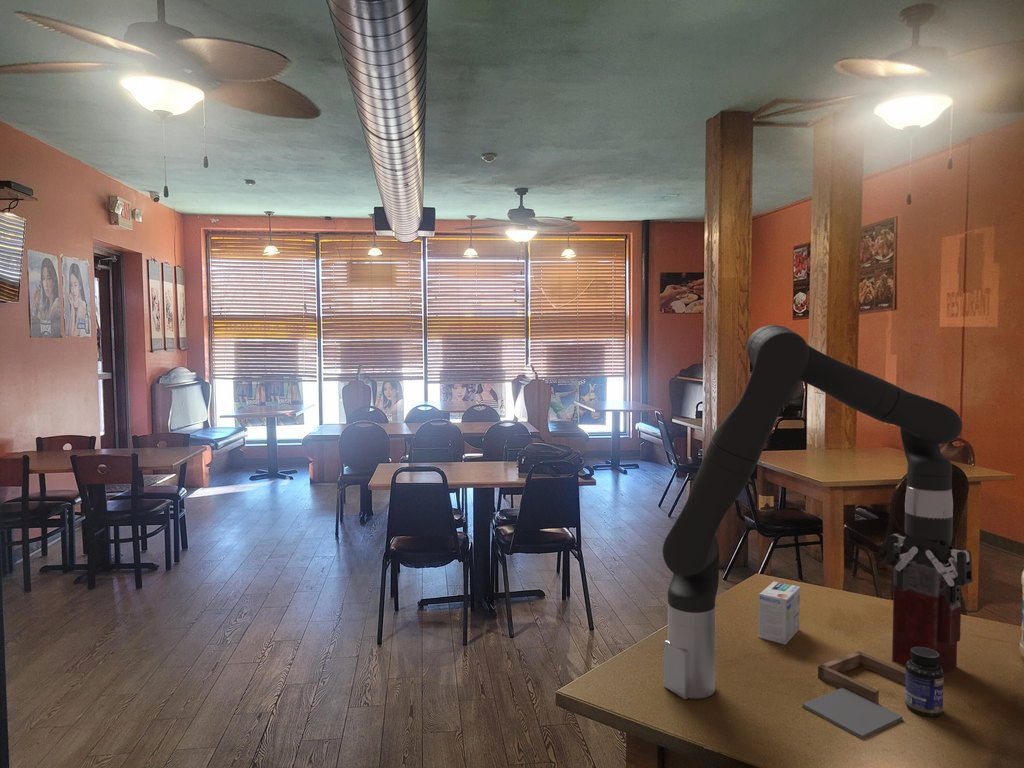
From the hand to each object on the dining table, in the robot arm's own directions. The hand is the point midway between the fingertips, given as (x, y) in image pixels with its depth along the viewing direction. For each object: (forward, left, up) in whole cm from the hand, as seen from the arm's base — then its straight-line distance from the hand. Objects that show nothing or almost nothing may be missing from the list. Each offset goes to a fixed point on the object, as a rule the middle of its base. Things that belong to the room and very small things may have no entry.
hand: (926, 597), depth 124 cm
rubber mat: (-13, +6, -22) cm, 26 cm away
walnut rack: (0, +11, -22) cm, 24 cm away
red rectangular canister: (+18, +9, -22) cm, 30 cm away
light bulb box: (+4, +36, -22) cm, 42 cm away
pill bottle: (0, 0, -22) cm, 22 cm away
